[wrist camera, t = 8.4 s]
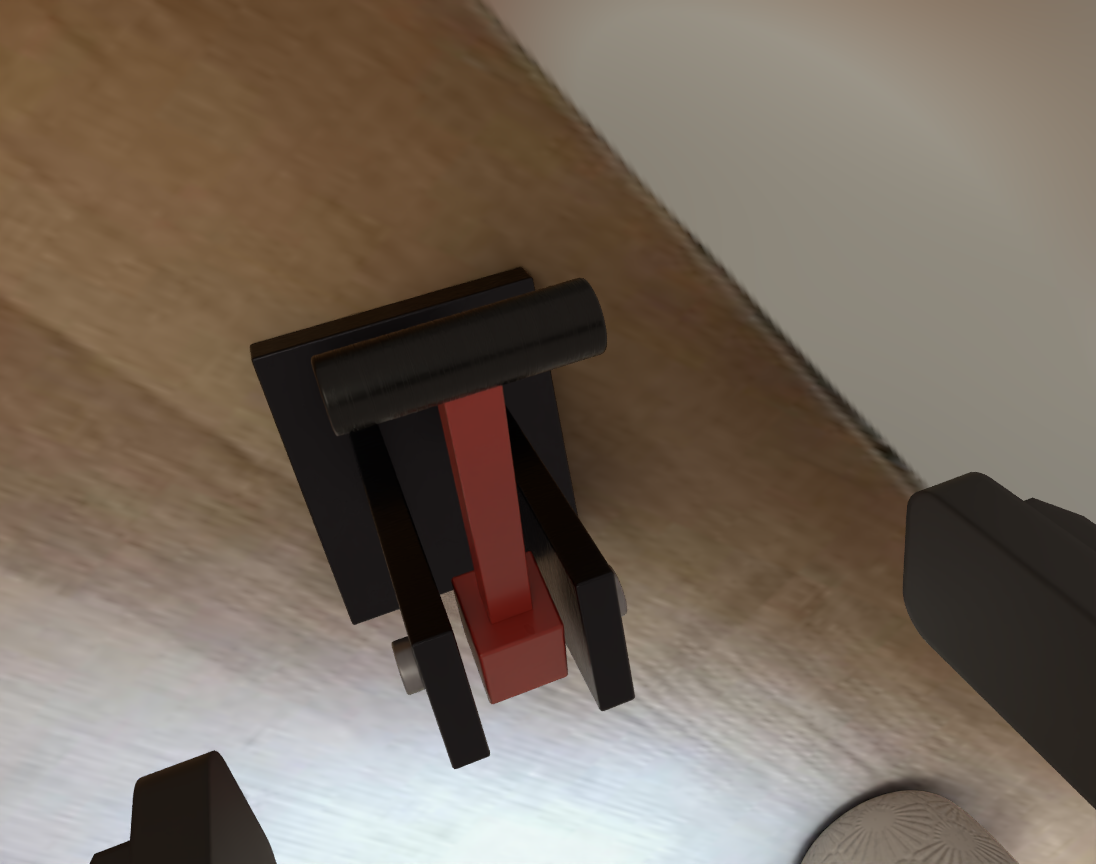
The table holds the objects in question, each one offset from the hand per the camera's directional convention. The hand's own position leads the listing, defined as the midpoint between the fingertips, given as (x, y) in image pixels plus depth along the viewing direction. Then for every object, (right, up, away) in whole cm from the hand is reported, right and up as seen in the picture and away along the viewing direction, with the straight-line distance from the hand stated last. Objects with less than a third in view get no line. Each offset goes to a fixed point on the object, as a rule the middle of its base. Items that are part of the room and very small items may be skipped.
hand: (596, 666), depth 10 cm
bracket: (-5, +2, +22) cm, 23 cm away
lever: (-2, +1, +11) cm, 11 cm away
